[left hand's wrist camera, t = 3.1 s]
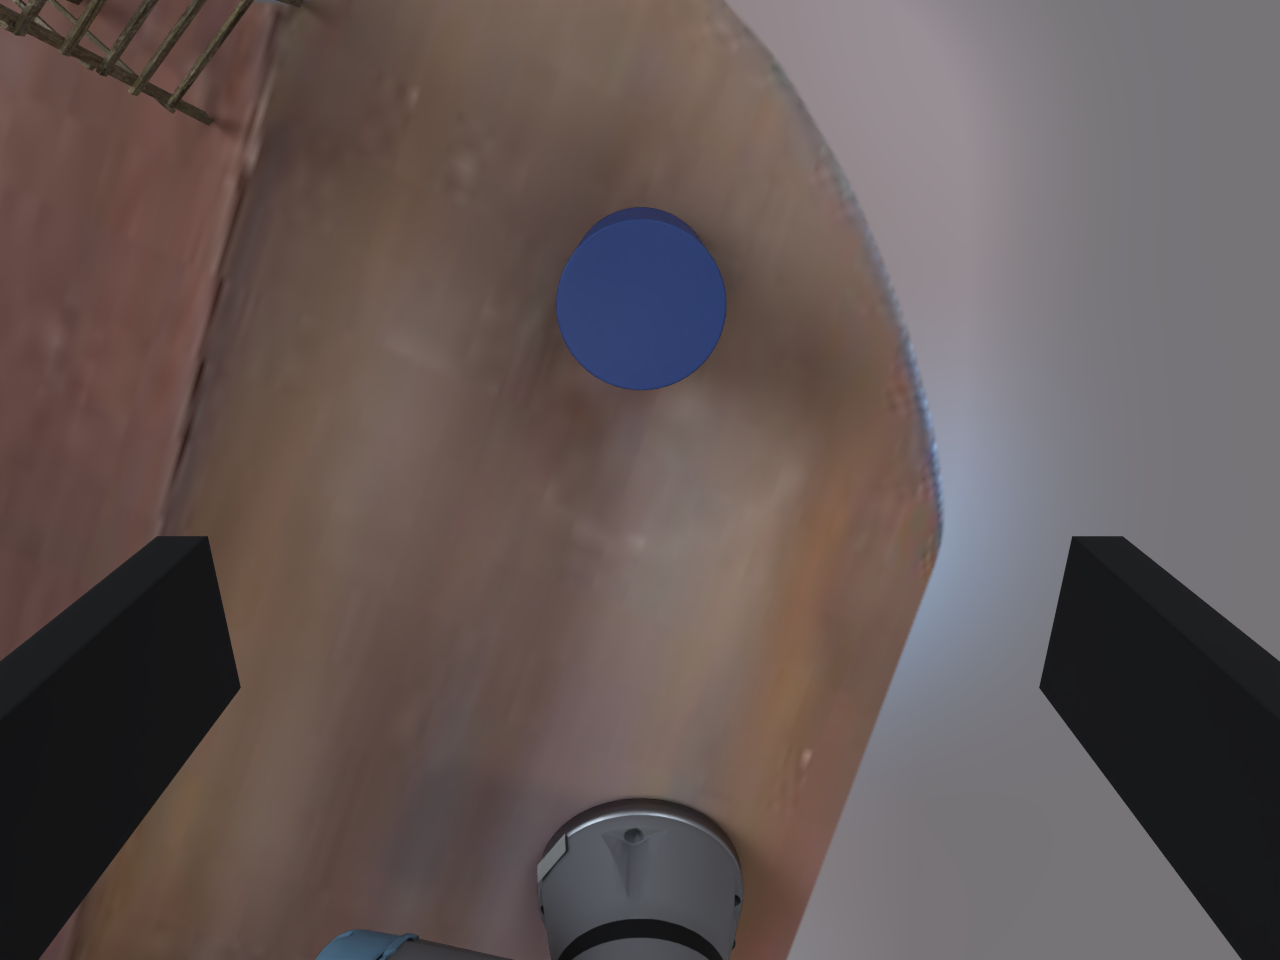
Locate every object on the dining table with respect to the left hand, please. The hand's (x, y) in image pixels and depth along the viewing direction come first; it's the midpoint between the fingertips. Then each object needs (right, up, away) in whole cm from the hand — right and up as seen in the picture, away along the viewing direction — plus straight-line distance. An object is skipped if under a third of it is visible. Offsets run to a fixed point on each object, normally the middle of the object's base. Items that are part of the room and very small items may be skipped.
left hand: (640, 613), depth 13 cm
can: (0, +13, +33) cm, 36 cm away
